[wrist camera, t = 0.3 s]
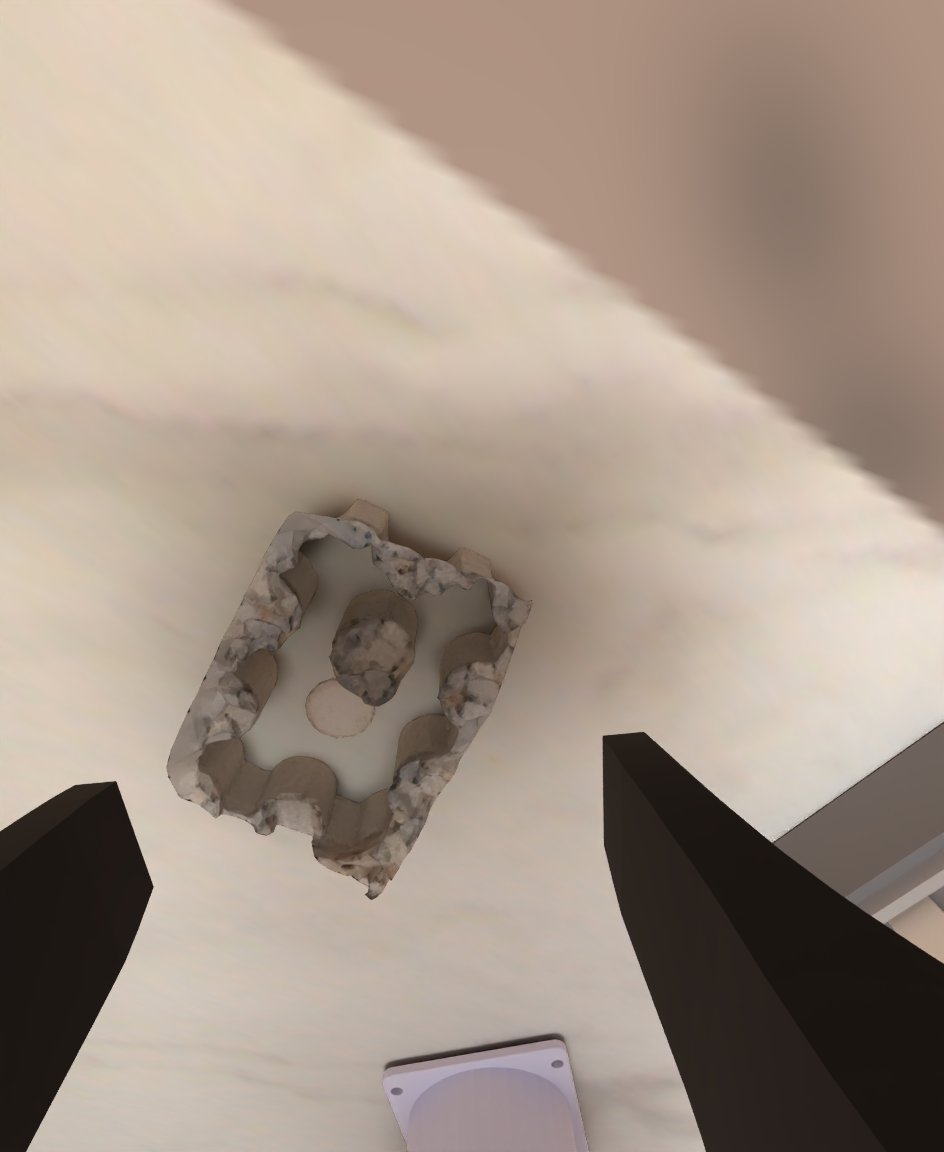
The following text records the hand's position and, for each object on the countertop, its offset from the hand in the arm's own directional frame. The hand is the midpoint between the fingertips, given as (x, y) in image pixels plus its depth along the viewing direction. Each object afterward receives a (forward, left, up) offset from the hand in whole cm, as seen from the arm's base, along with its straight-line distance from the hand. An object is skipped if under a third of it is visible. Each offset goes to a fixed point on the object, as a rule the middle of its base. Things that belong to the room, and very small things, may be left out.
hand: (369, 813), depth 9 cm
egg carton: (-2, +2, -10) cm, 11 cm away
